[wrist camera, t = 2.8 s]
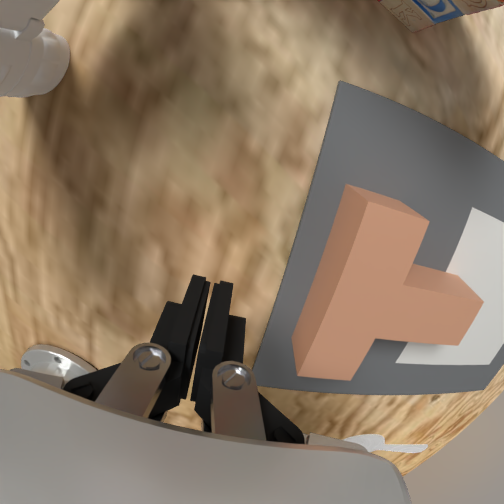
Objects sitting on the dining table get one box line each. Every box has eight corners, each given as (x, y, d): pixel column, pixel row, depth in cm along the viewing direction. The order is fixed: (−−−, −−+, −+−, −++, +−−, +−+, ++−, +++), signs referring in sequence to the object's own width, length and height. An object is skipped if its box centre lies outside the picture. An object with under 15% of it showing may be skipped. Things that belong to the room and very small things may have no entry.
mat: (482, 387, 28) (483, 389, 28) (248, 380, 25) (248, 384, 25) (573, 218, 19) (575, 219, 18) (338, 81, 16) (340, 80, 15)
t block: (415, 351, 24) (432, 382, 20) (291, 337, 23) (297, 375, 19) (477, 230, 19) (508, 252, 15) (345, 183, 18) (368, 201, 14)
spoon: (412, 455, 35) (413, 458, 35) (325, 449, 32) (325, 453, 32) (437, 437, 33) (438, 440, 33) (352, 428, 30) (353, 432, 30)
